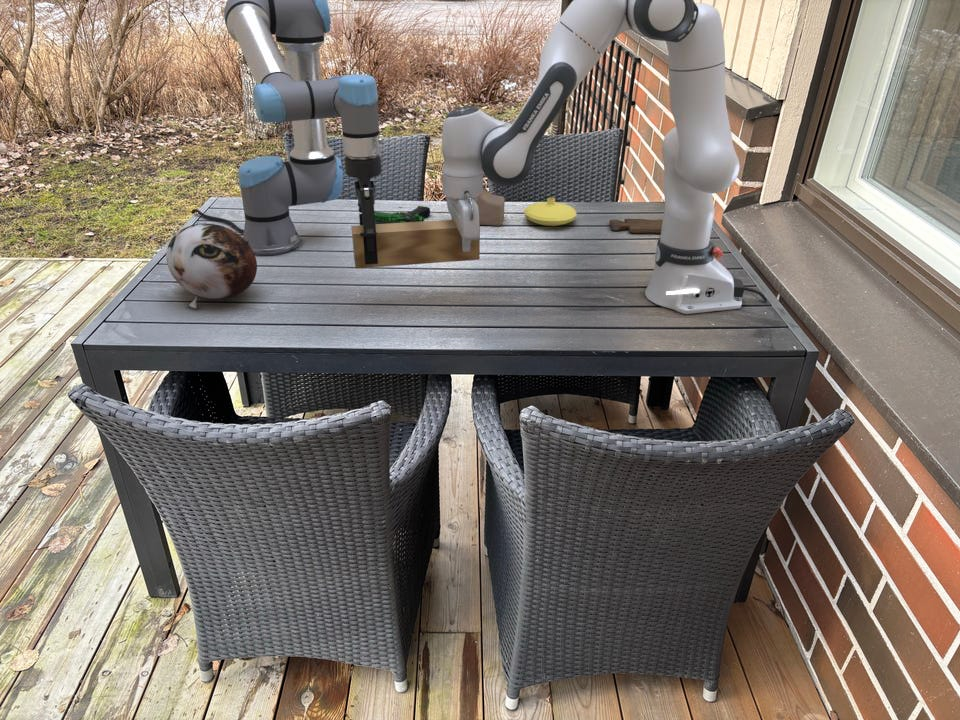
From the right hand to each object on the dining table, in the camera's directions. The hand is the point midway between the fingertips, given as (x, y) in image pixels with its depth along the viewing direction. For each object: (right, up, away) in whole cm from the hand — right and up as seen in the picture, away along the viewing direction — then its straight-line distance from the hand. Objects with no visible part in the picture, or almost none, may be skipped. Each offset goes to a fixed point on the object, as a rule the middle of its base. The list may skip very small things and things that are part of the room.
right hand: (463, 244), depth 163 cm
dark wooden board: (+56, +13, +49) cm, 75 cm away
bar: (-10, -3, -1) cm, 11 cm away
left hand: (-21, -2, -4) cm, 21 cm away
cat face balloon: (-58, -11, +6) cm, 59 cm away
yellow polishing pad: (+25, +15, +53) cm, 61 cm away
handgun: (-20, +16, +53) cm, 59 cm away
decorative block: (+3, +16, +53) cm, 55 cm away
